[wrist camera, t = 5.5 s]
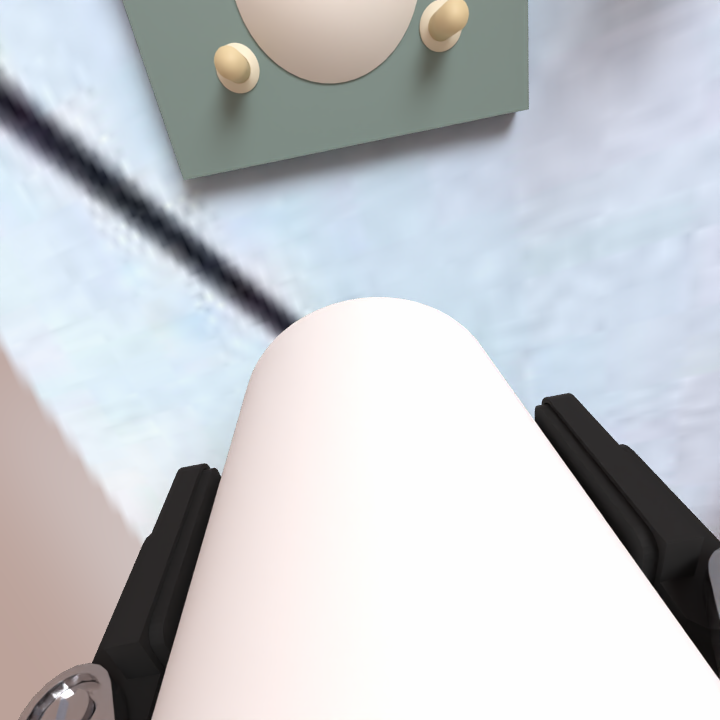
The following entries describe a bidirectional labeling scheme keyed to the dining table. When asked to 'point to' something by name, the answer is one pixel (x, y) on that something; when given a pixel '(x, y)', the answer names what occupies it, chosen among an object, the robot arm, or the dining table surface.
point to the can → (413, 550)
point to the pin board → (324, 72)
